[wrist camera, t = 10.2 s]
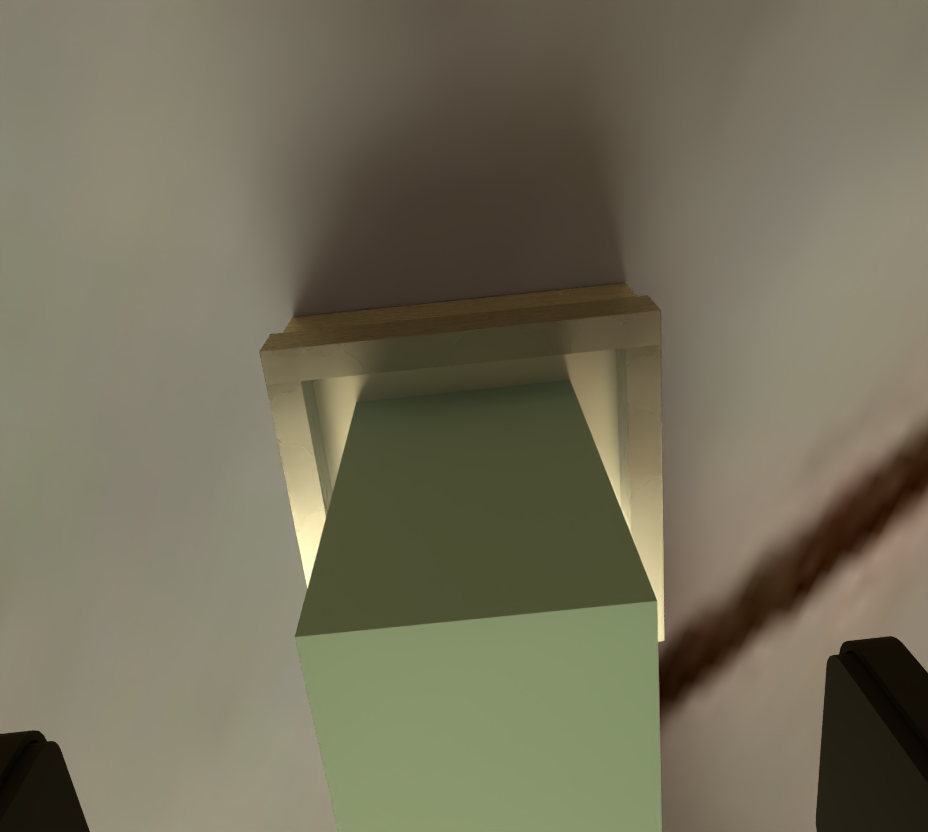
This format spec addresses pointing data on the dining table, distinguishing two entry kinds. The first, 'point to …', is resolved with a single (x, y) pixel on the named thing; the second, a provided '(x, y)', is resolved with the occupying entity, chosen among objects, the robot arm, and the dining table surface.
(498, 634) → the pale green gift box
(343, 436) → the rail
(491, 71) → the dining table surface
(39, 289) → the dining table surface
